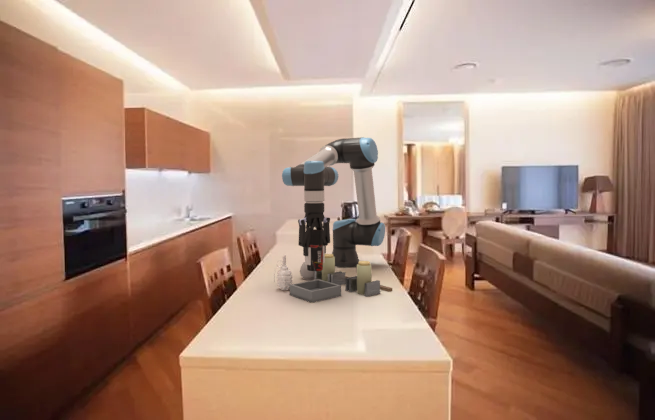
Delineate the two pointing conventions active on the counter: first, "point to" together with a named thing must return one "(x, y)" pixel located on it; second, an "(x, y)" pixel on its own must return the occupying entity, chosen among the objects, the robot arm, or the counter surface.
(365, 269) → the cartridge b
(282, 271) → the hand grenade
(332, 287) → the tray
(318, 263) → the deodorant
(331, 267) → the cartridge
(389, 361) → the counter surface
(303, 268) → the potion bottle
